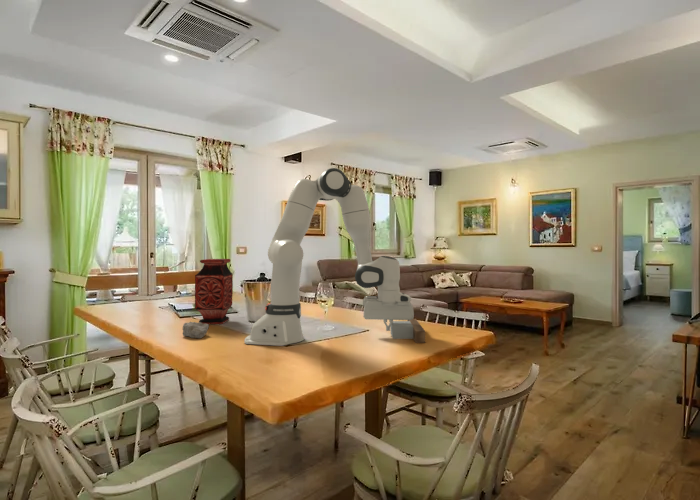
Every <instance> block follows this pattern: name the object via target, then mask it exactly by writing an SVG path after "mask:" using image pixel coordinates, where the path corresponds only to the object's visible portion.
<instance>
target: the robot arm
mask: <svg viewBox="0 0 700 500" xmlns="http://www.w3.org/2000/svg"><path fill="white" fill-rule="evenodd" d="M334 200H336V201H337V202H338V204H339V207H340V208H341V216H342V220H343V224H344V227H345V230H346V231H347V233H348V235H349V236H350V238H351V239H352V242H353V245H354V248H355V254H356V259H357V267H356V271H355V274H354V280H355V283H356V284H357V285H358V286H359V287H360V288H364V289H370V288H375V287H377V295H373V296H370V295H368V296H367V295H366V296H364V298H363V299H362V306H363V307H364V308H363V318H364V320H377V321H379V320H380V321H381V320H383V324H384V325H385V331H386V332H391V325H392V323H393V321H408V320H412V319H415V318H414V317H415V316H414V315H415V312H414V306H413V304H412V297H411V296H410V295H409V294H406V293H404V292H401V289H400V288H401V287H400V279H401V272H400V271H401V270H400V267H401V266H400V262H399V261H398V259H397V258H395V257H393V256H392V257H391V256H387V255H381V256H379V257H378V258H377V259H374V260H373V258H372V257H373V256H372V252H371V246H370V231H371V230H370V229H371V215H370V214H371V213H370V209H369V204H368V203H369V202H368V201H367V197H366V194H365V192H364V189H363V188H362V187H361V186H360V185H356V184H352V183H351V181H350V180H349V179H348V177H347V175H346V174H345V173H344V172H343V171H342V170H341V169H339V168H336V167H331V168H327V169H325V170H323V171H322V173H321V174H319V176H318V177H317V178H316V179H315V180H311V179H307V178H301V179H299V180H298V181H296V183H295V185H294V187H293V188H292V190H291V192H290V194H289V197H288V199H287V202H286V205H285V207H284V211H283V214H282V217H281V219H280V222H279V224H278V226H277V228H276V230H275V232H274V234H273V237H272V239H271V242H270V244H269V247H268V249H267V250H268V251H267V256H268V259H269V262H270V263H271V264H272V270H271V271H272V272H271V280H270V302H269V303H267V304H266V306H265V307H264V308H265V314H264V315H262V316H261V317H260V318H259V319H258V320H256V321H255V322H254V323H253V324H252V326H251V330H250V334H249V335H247V336H246V337H244V344H246V345H261V346H262V345H263V346H282V347H283V346H286V345H289V344H291V345H292V344H296V343H299V342H301V341H304V340H305V337H304V334H303V330H302V324H301V315H302V306H301V303H300V282H301V281H300V280H301V274H302V268H303V267H302V265H303V259H304V250H303V248H302V246H301V243H302V241H303V240H304V237H305V235H306V234H307V232H308V231H309V228H310V226H311V223H312V218H313V217H314V213H315V210H316V208H317V204H318V202H319V201H325V202H326V201H334ZM388 321H389V322H388ZM387 323H389V324H387Z"/></svg>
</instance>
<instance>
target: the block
mask: <svg viewBox="0 0 700 500" xmlns="http://www.w3.org/2000/svg"><path fill="white" fill-rule="evenodd" d="M390 335H391V338H392V339H393V340H403V339H405V340H407V339H408V340H412V339H413V325H412V324H411V322H410V321H408V320H393V323H392V325H391V327H390ZM413 340H414V339H413Z"/></svg>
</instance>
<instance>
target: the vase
mask: <svg viewBox="0 0 700 500" xmlns="http://www.w3.org/2000/svg"><path fill="white" fill-rule="evenodd" d="M230 262H231V259H230V258H205V259H200V260H199V263H201V264H203V266H202V268H201V270H199V272H198V273H196V274H195V275H194V280H195V281H194V283H195V285H194V310H196V311H197V312H199V313H200V315H201V316H202V318H201V319H200V320H199V321H198V323H199V322H201V323H203V324H209V325H223V324H225V323H226V322H228V321H229V320H230V317H229V316H227V313H228V311H229V309H230V308H231V307H232V306H233V292H234V291H233V288H234V286H233V285H234V282H233V275H234V273H232V271H231V270H230V269H229V267H228V265H227V264H228V263H230Z"/></svg>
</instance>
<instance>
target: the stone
mask: <svg viewBox="0 0 700 500" xmlns="http://www.w3.org/2000/svg"><path fill="white" fill-rule="evenodd" d="M209 325H210V324H203V323H201V322H199V321H198V322H195V321H189V322H184V323H183V325H182V336H183V337H186V338H187V337H188V338H191V339H201V338H203V337H205V335H206V334H207V333H208V330H209Z"/></svg>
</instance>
